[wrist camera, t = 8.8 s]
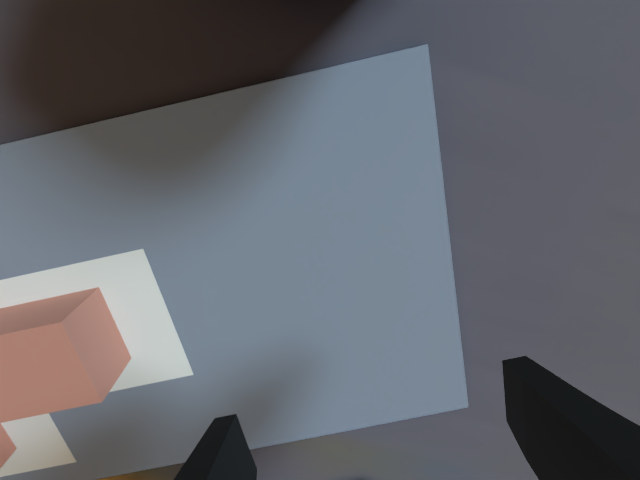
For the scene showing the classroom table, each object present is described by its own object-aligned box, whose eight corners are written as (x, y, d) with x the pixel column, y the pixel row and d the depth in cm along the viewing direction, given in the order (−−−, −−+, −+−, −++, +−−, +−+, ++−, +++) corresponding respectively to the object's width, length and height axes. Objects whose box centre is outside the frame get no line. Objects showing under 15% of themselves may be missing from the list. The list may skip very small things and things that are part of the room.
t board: (466, 403, 22) (468, 407, 21) (-50, 503, 23) (-55, 509, 23) (425, 44, 16) (427, 44, 15) (-275, 210, 17) (-286, 212, 17)
